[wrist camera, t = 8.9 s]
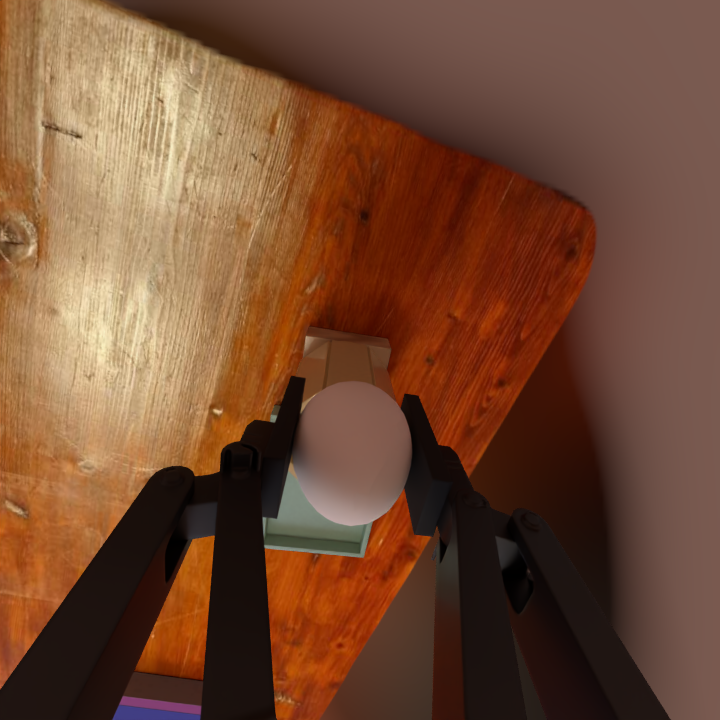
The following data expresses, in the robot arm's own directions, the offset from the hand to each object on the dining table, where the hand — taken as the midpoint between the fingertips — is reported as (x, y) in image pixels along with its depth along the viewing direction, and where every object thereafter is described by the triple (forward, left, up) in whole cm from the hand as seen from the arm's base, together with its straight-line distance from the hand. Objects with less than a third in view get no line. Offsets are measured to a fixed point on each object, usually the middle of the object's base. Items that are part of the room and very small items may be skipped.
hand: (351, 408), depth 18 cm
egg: (0, 0, 0) cm, 0 cm away
